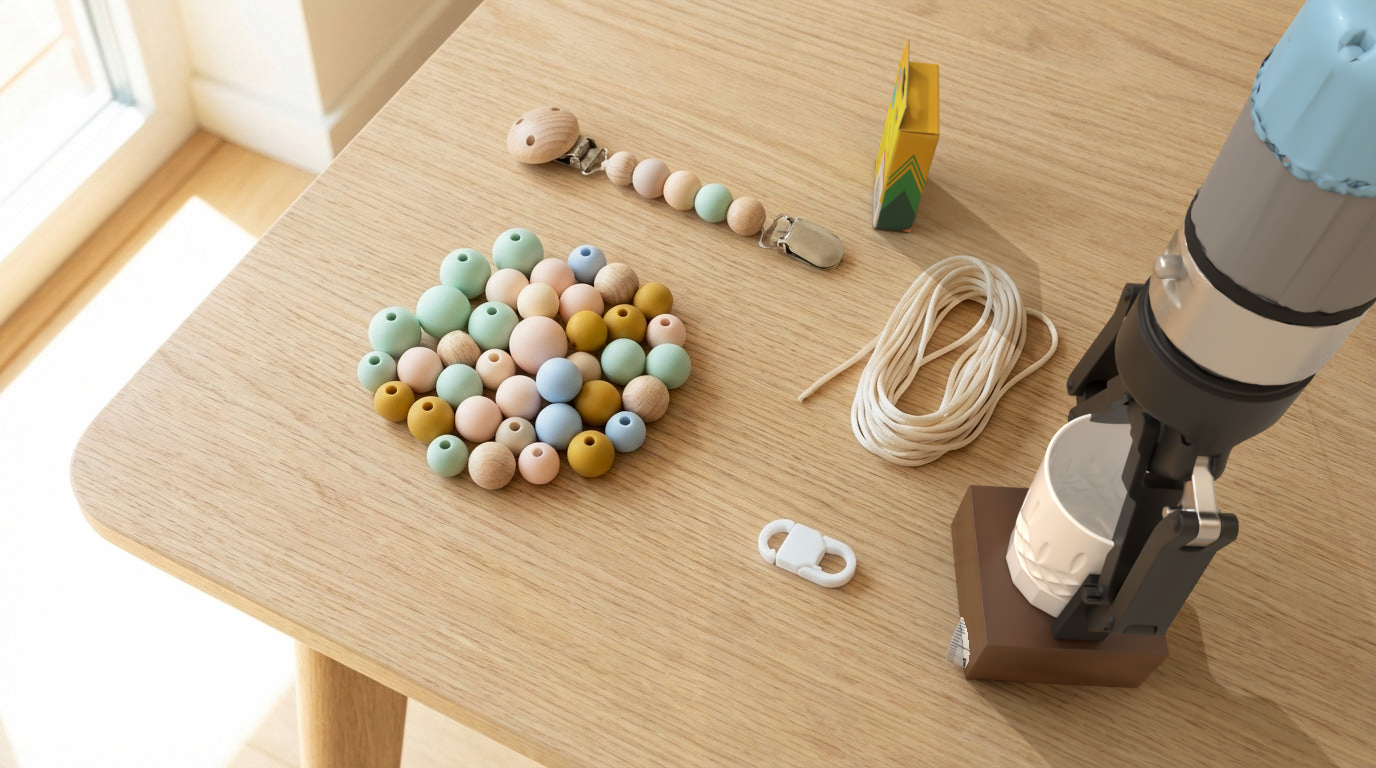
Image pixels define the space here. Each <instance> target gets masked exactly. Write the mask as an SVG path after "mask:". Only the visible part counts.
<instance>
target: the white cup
mask: <svg viewBox="0 0 1376 768" xmlns="http://www.w3.org/2000/svg"><path fill="white" fill-rule="evenodd" d="M1090 419H1091V414H1087V415H1084V416H1081V417H1078V418H1076V419H1074V420H1072V421H1070V422H1069V423H1068V422H1067V423H1065V424H1063V426H1062V427H1061V428H1059V430H1057V431H1056V433H1055V434H1054V435H1053V437H1052V438H1051V440H1050V442H1049V444H1048V446H1047V448H1046V451H1045V452H1044V455H1043V457H1042V459H1041V462H1040V464H1039V466H1038V468H1037V470H1036V472H1035V475H1034V477H1033V479H1032V482H1031V484H1030V486H1029V487H1028V488H1029V490H1028V492H1027V495H1026V497H1025V500H1024V502H1023V505H1022V507H1021V510H1020V512H1019V515H1018V518H1017V521H1016V525H1015V527H1014V529H1013V531H1012V534H1011V537H1010V541H1009V546H1008V550H1007V555H1006V560H1007V564H1008V567H1009V571H1010V574H1011V578H1012V581H1013V583H1014V585H1015V586H1016V587H1017V588H1018V589H1019V591H1020V592H1021V593H1022V594H1023V595H1024V597H1025V598H1026V599H1027V600H1028V601H1029V603H1030V604H1032V605H1033V606H1035V607H1037V608H1039V609H1041V610H1042V611H1044V612H1046V613H1048V614H1050V615H1052V616H1053V617H1055V618H1058V616H1059V615H1060V614H1061V612H1062V611H1063V610H1064V608H1065V607H1066V605H1067V604H1068V603H1069V601H1070V600H1071V599H1072V597H1073V596H1074V594H1075V593H1076V592H1077V590H1078V589H1079V587H1080V586H1081V585H1082V583H1083V582H1084V581H1085V579H1086V578H1087V576H1088V575H1089V574H1100V575H1101V572H1102V568H1103V565H1104V562H1105V559H1106V556H1107V554H1108V552H1109V551H1110V550H1111V549H1112V548H1113V546H1114V542H1113V541H1112V537H1113V534H1114V531H1115V528H1116V525H1117V522H1118V519H1119V516H1120V513H1121V510H1122V506H1123V503H1124V500H1125V497H1126V494H1127V490H1126V488H1125V486H1124V484H1123V482H1122V479H1121V476H1122V473H1123V469H1124V466H1125V463H1126V460H1127V457H1128V454H1129V451H1130V447H1131V444H1132V438H1131V436H1130V430H1131V425H1130V424H1105V423H1096V422H1091V421H1090ZM1147 472H1148V471H1147ZM1148 473H1149V472H1148Z"/></svg>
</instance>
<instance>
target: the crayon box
mask: <svg viewBox="0 0 1376 768" xmlns="http://www.w3.org/2000/svg"><path fill="white" fill-rule="evenodd" d="M910 44H911V43H910V39H909V38H908V39H907V41H906V43H905V46H904V49H903V51H902V53H901V57H900V59H899V60H898V67H897V71H896V76H895V79H894V80H895V81H894V84H893V88H892V89H893V90H892V93H891V97H890V102H889V106H888V109H887V114H886V118H885V123H884V126H883V130H882V135H881V139H880V143H879V147H878V149H877V150H878V151H877V155H876V158H875V161H874V162H875V163H874V164H875V173H874V174H875V175H874V187H873V213H872V214H873V215H872V218H873V219H872V228H873V229H877V230H885V231H896V232H906V233H911V232H912V229H913V227H914V223H915V221H916V217H917V214H918V210H919V207H920V204H921V199H922V196H923V193H924V190H925V186H926V183H927V179H928V175H929V173H930V169H931V166H932V163H933V159H934V156H935V152H936V149H937V146H938V143H939V140H940V65H939V64H938V63H931V62H930V63H929V62H922V61H921V62H919V61H910Z"/></svg>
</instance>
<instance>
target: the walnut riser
mask: <svg viewBox="0 0 1376 768" xmlns="http://www.w3.org/2000/svg"><path fill="white" fill-rule="evenodd" d="M1029 488H1030V487H1014V486H997V485H981V484H980V485H979V484H978V485H977V484H969V485H968V486H967V490H966V492H965V494H964V496H963V498H962V500H961V502H960V504H959V507H958V508H957V510H956V513H955V515H954V517H953V519H952V521H951V523H950V529H951V541H952V550H953V563H954V572H955V582H956V583H955V584H956V593H957V594H956V596H957V603H958V605H957V606H958V615H960V617H963V618H964V621H965V625H966V628H967V632H968V640H969V649H970V650H969V652H970V655H969V662H968V664H967V666H966V668H965V670H964V678H965V679H966V680H983V681H1002V682H1020V683H1021V682H1022V683H1039V684H1058V685H1059V684H1060V685H1062V684H1063V685H1075V686H1076V685H1079V686H1097V687H1116V688H1132V689H1133V688H1136V689H1137V688H1139V687H1140V686H1141V685H1142V684H1143V683H1144V682H1145V681H1146V680H1147V679H1148V678H1149V677H1150V676H1151V675H1152V674H1153V673H1154V672H1155V671H1156V670H1157V669H1158V668H1159V666H1160V665H1162V664H1163V662H1164V661H1165V660H1166V659H1167V658H1168V657H1169V656H1170V650H1169V645H1168V641H1167V635H1166V633H1165V634H1164V635H1163V636H1140V635H1122V634H1109V635H1108V636H1107V637H1106V639H1105V640H1104V641H1088V640H1069V639H1054V638H1053V630H1052V625H1053V623H1054V622H1055V621H1056V619H1057V618H1055V617H1053V616H1052V615H1050V614H1048V613H1046V612H1044V611H1042V610H1041V609H1039V608H1037V607H1035V606H1033V605H1032V604H1030V603H1029V601H1028V600H1027V599H1026V598H1025V597H1024V595H1023V594H1022V593H1021V592H1020V591H1019V589H1018V588H1017V587H1016V586H1015V585H1014V583H1013V581H1012V578H1011V574H1010V571H1009V567H1008V564H1007V560H1006V555H1007V550H1008V546H1009V541H1010V537H1011V534H1012V531H1013V529H1014V527H1015V525H1016V521H1017V518H1018V515H1019V512H1020V510H1021V507H1022V505H1023V502H1024V500H1025V497H1026V495H1027V492H1028V490H1029ZM959 613H960V614H959ZM960 617H959V618H960Z"/></svg>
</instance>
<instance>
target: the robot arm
mask: <svg viewBox="0 0 1376 768" xmlns="http://www.w3.org/2000/svg"><path fill="white" fill-rule="evenodd" d="M1151 271H1152V272H1151V275H1150V276H1149V277H1148V278H1147V280H1146V281H1145V282H1144V283H1138V282H1126V283H1125V284H1124V286H1123V288H1122V292H1121V294H1120V297H1119V299H1118V302H1117V305H1116V306H1115V310H1114V311H1113V314H1112V315H1111V316H1110V318H1109V319H1108V321H1107V323H1106V324H1105V325H1104V327H1103V328H1102V329H1101V331H1100V332H1099V333H1098V335H1097V336H1096V337H1095V339H1094V340H1093V341H1092V343H1091V344H1090V346H1089V347H1088V348H1087V350H1086V351H1085V353H1084V354H1083V356H1082V357H1081V359H1080V360H1079V361H1078V363H1077V364H1076V365H1075V367H1074V368H1073V370H1072V371H1071V372H1070V373H1069V376H1068V377H1067V381H1066V392H1067V395H1068V396H1069V397H1076V399H1075V400H1076V405H1075V406H1073V407H1071V408H1070V410H1069V412H1068V415H1067V423H1069V422H1070V421H1072V420H1074V419H1076V418H1078V417H1081V416H1084V415H1087V414H1091V419H1090V421H1091V422H1096V423H1105V424H1130V425H1131V430H1130V436H1131V438H1132V444H1131V447H1130V451H1129V454H1128V457H1127V460H1126V463H1125V466H1124V469H1123V473H1122V476H1121V479H1122V482H1123V484H1124V486H1125V488H1126V490H1127V494H1126V497H1125V500H1124V503H1123V506H1122V510H1121V513H1120V516H1119V519H1118V522H1117V525H1116V528H1115V531H1114V534H1113V537H1112V541H1113V542H1114V546H1113V548H1112V549H1111V550H1110V551H1109V552H1108V554H1107V556H1106V559H1105V562H1104V565H1103V568H1102V572H1101V575H1100V574H1089V575H1088V576H1087V578H1086V579H1085V581H1084V582H1083V583H1082V585H1081V586H1080V587H1079V589H1078V590H1077V592H1076V593H1075V594H1074V596H1073V597H1072V599H1071V600H1070V601H1069V603H1068V604H1067V605H1066V607H1065V608H1064V610H1063V611H1062V612H1061V614H1060V615H1059V616H1058V618H1057V619H1056V621H1055V622H1054V623H1053V625H1052V630H1053V638H1054V639H1069V640H1088V641H1104V640H1105V639H1106V637H1107V636H1108V635H1109V634H1122V635H1140V636H1163V635H1164V634H1165V635H1166V632H1167V631H1168V629H1169V628H1170V627H1171V625H1172V623H1173V621H1174V620H1175V619H1176V617H1177V615H1178V614H1179V612H1180V611H1181V609H1182V607H1183V606H1184V604H1185V603H1186V601H1187V599H1188V598H1189V596H1190V595H1191V593H1192V592H1193V590H1194V588H1195V587H1196V585H1198V582H1199V581H1200V579H1201V578H1202V576H1203V574H1204V573H1205V571H1206V570H1207V568H1208V567H1209V565H1210V563H1211V562H1212V561H1213V559H1214V557H1215V555H1216V554H1217V552H1219V551H1220V550H1222V549H1224V548H1226V547H1227V546H1229V545H1231V544H1232V543H1234V542H1235V541H1236V540H1237V539H1238V536H1239V531H1240V523H1239V522H1240V521H1239V519H1238V516H1237V515H1236V513H1233V512H1222V510H1221V509H1220V508H1218V503H1217V502H1218V501H1217V495H1216V493H1217V492H1216V486H1215V482H1216V481H1217V480H1219V478H1221V477H1222V475H1223V474H1224V472H1225V470H1226V468H1227V464H1228V461H1229V457H1230V455H1231V453H1232V451H1233V448H1235V447H1237V446H1238V445H1240V444H1242V443H1244V442H1245V441H1246V442H1247V440H1249V439H1251V438H1254V437H1256V436H1258V435H1259V434H1261V433H1263V432H1264V431H1267V430H1268V429H1270V428H1271V427H1272V426H1274V425H1275V424H1276V423H1277V422H1278V421H1279V420H1280V419H1281V418H1282V417H1283V416H1284V414H1285V413H1286V412H1287V411H1288V410H1289V408H1290V407H1291V406H1292V405H1293V403H1294V402H1296V400H1297V398H1299V396H1300V395H1301V394H1302V393H1303V392H1304V390H1305V389H1306V388H1307V387H1308V385H1310V383H1311V382H1312V381H1313V379H1314V377H1315V376H1316V374H1317V373H1318V372H1319V371H1320V370H1322V369H1323V367H1325V366H1326V364H1328V362H1329V361H1330V360H1332V358H1333V357H1334V356H1335V354H1336V353H1337V352H1338V350H1339V349H1340V348H1341V347H1342V346H1343V344H1344V343H1345V341H1346V340H1348V338H1349V337H1350V335H1351V334H1352V333H1353V331H1354V330H1355V329H1356V328H1357V327H1358V325H1359V324H1360V323H1361V321H1362V320H1363V319H1364V318H1365V316H1366V315H1367V314H1368V313H1369V312H1370V310H1371V309H1372V307H1373V306H1374V305H1375V303H1376V0H1306V1H1305V2H1304V3H1303V5H1302V7H1301V8H1300V9H1299V11H1298V12H1297V14H1296V16H1294V18H1293V20H1292V22H1291V23H1290V24H1289V26H1288V27H1287V29H1286V31H1284V33H1283V34H1282V36H1281V38H1280V39H1279V41H1278V42H1277V44H1274V45H1273V46H1272V48H1271V50H1270V51H1269V52H1268V54H1267V55H1266V57H1265V58H1264V59H1263V60H1262V62H1261V64H1260V66H1259V69H1258V71H1257V72H1256V75H1255V79H1254V81H1253V85H1252V88H1251V91H1250V93H1249V95H1248V97H1247V98H1246V101H1245V103H1244V105H1243V107H1242V109H1241V111H1240V113H1239V115H1238V116H1237V118H1236V120H1235V122H1234V124H1233V126H1232V128H1231V129H1230V132H1229V134H1228V135H1227V137H1226V139H1225V141H1224V143H1223V145H1222V147H1221V149H1220V150H1219V153H1218V155H1217V156H1216V158H1215V161H1214V162H1213V164H1212V165H1211V168H1210V170H1209V172H1208V174H1207V176H1206V178H1205V179H1204V182H1203V183H1202V185H1201V186H1199V187H1198V188H1197V190H1196V193H1195V194H1194V196H1193V198H1192V200H1191V201H1190V204H1189V206H1188V208H1187V210H1186V212H1185V215H1184V216H1183V218H1182V220H1181V221H1180V223H1179V224H1178V226H1177V228H1176V230H1175V232H1174V233H1173V235H1172V237H1171V239H1170V240H1169V242H1168V244H1167V245H1166V247H1165V249H1164V250H1163V253H1162V254H1160V255H1158V256H1157V257H1155V259H1154V261H1153V265H1152V268H1151ZM1147 471H1148V472H1149V473H1148V472H1147Z"/></svg>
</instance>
